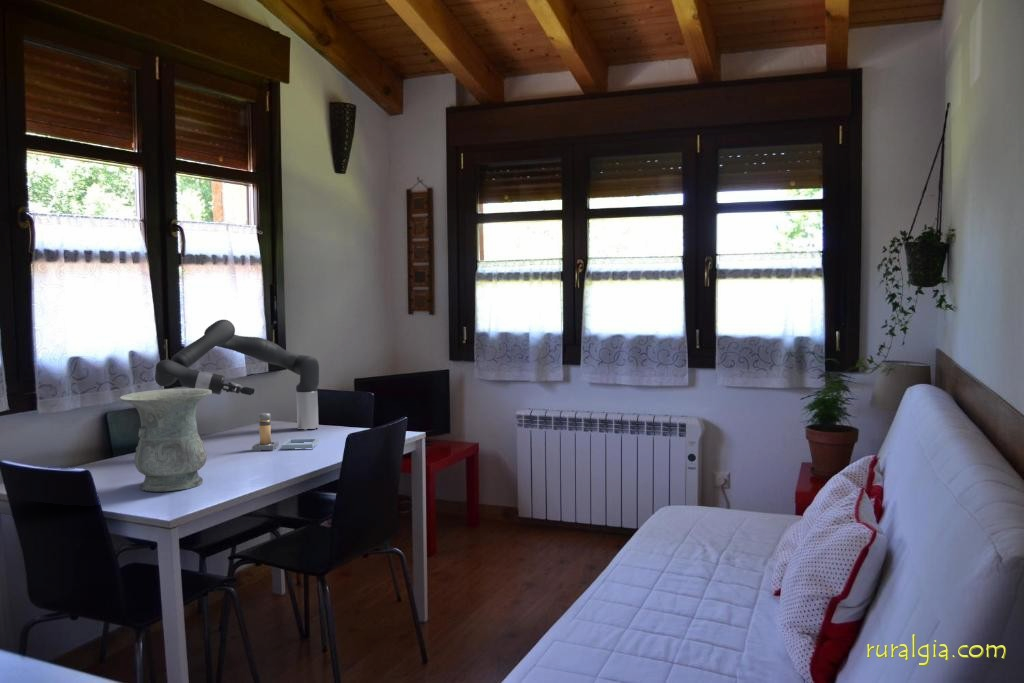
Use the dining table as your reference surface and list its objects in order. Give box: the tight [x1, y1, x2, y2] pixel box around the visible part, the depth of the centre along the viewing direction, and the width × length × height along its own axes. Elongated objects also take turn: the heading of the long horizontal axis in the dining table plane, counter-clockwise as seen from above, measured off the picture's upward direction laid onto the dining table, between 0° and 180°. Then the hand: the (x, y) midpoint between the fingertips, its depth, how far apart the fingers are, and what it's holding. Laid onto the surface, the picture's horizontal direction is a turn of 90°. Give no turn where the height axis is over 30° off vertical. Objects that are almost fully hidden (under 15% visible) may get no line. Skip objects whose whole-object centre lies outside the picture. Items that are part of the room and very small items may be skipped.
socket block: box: [251, 441, 280, 452], centre depth 300 cm, size 8×8×2 cm
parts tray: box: [281, 437, 320, 450], centre depth 303 cm, size 12×12×2 cm
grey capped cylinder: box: [257, 412, 272, 446], centre depth 300 cm, size 5×5×14 cm
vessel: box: [119, 387, 213, 493], centre depth 244 cm, size 27×27×30 cm
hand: (253, 392), depth 296 cm, fingers open, 8 cm apart
